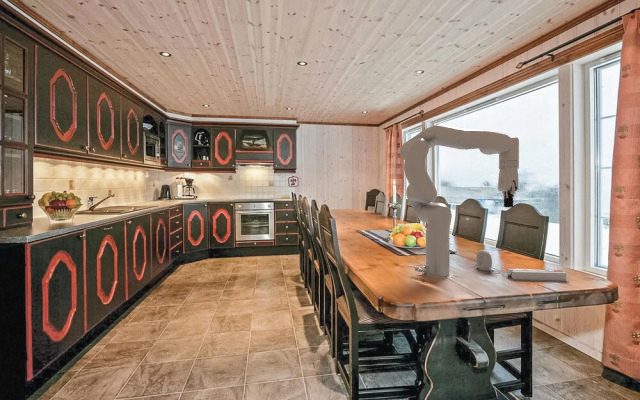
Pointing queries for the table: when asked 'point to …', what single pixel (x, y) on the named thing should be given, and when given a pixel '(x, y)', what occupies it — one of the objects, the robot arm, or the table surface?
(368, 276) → the table surface
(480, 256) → the grey rounded slab
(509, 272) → the arm
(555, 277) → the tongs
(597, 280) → the table surface
